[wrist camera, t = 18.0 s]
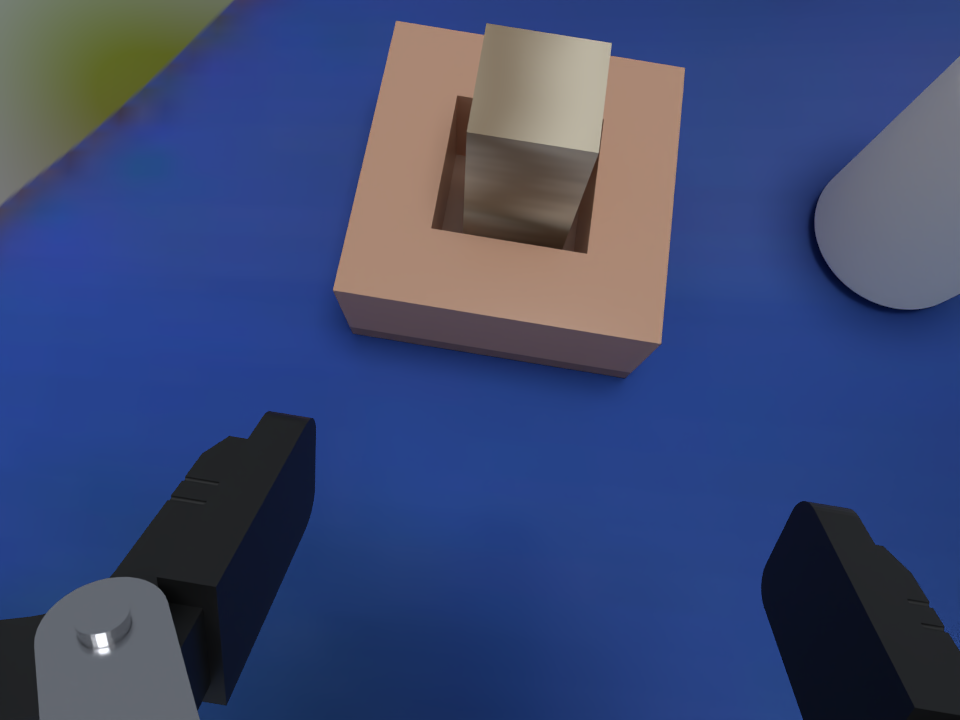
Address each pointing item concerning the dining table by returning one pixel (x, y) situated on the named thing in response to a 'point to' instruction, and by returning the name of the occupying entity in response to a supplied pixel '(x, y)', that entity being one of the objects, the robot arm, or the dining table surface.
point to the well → (498, 263)
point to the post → (532, 134)
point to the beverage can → (900, 206)
